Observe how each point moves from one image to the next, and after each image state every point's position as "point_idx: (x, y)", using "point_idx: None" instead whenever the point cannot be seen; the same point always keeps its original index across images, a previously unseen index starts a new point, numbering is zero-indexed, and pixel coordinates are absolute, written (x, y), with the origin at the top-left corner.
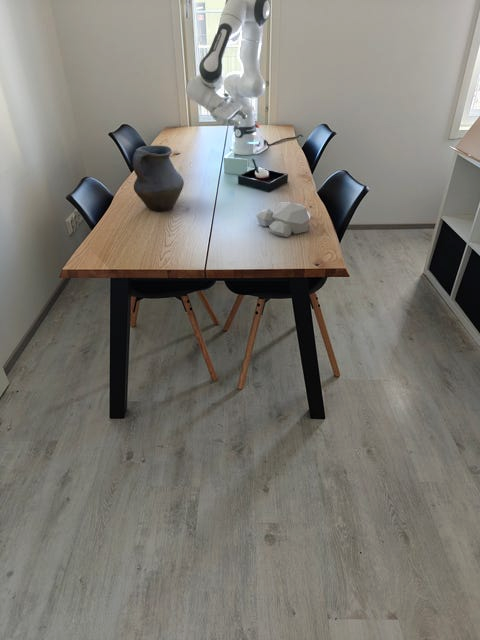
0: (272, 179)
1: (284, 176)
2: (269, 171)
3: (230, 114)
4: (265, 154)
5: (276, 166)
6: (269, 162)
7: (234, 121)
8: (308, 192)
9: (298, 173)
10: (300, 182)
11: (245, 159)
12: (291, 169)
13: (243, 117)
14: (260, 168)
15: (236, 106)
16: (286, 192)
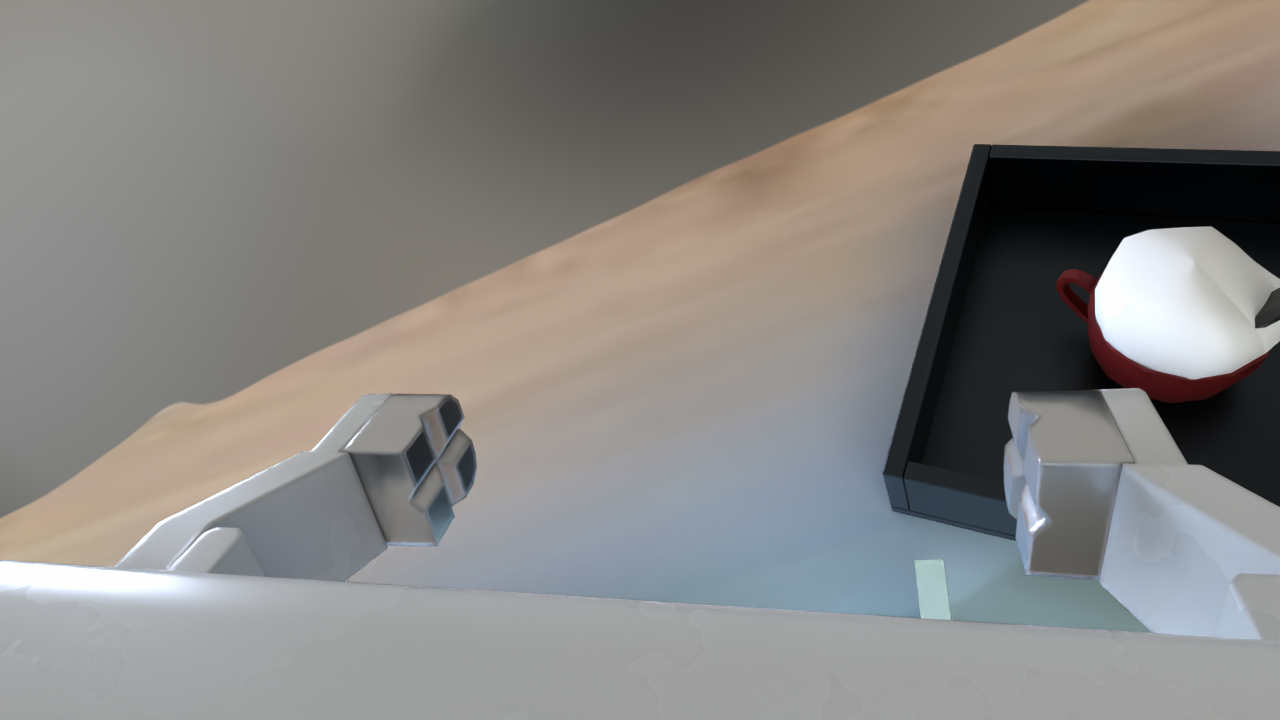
0: (989, 313)
1: (1044, 150)
2: (945, 323)
3: (1230, 696)
4: None
5: (570, 434)
6: (467, 533)
7: (1240, 499)
8: (1123, 11)
9: (708, 222)
10: (918, 133)
11: (946, 585)
12: (624, 299)
13: (442, 486)
14: (1196, 283)
15: (18, 686)
16: (1240, 114)
